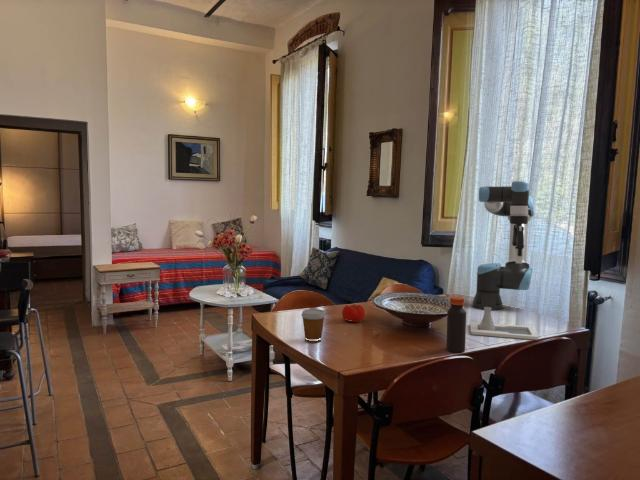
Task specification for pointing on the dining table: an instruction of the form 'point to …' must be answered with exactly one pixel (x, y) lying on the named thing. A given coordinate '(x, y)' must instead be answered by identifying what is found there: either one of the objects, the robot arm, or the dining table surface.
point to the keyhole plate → (505, 331)
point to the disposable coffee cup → (313, 324)
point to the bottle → (456, 326)
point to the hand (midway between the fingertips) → (517, 261)
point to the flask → (487, 320)
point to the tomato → (353, 313)
